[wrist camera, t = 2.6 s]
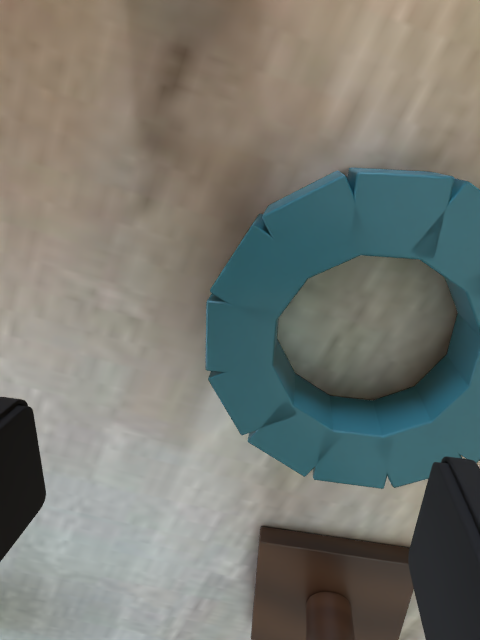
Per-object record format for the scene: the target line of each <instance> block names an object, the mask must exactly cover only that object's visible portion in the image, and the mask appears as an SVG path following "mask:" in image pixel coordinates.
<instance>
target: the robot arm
mask: <svg viewBox="0 0 480 640" xmlns="http://www.w3.org/2000/svg"><path fill="white" fill-rule="evenodd" d="M45 496H46V490H45V483H44V477H43V471H42V465H41V458H40V452H39V446H38V439H37V433H36V427H35V420H34V414H33V410H32V408H31V407H28V405H27V403H26V401H24V400H21V399H14V398H6V397H0V561H1V560H2V559H3V558H4V556H5V555H6V554H7V552H8V551H9V550H10V548H11V547H12V546H13V544H14V543H15V542H16V540H17V539H18V538H19V536H20V535H21V534H22V533H23V531H24V530H25V529H26V527H27V526H28V525H29V523H30V522H31V521H32V519H33V518H34V517H35V515H36V514H37V513H38V511H39V510H40V509H41V507H42V506H43V503H44V501H45ZM408 563H409V570H410V575H411V579H412V583H413V587H414V591H415V596H416V600H417V604H418V608H419V612H420V617H421V621H422V625H423V629H424V633H425V638H426V640H480V468H479V467H478V465H477V463H476V462H475V461H474V460H470V459H462V458H455V457H447V456H446V457H443V459H442V461H441V463H440V462H434V463H433V465H432V468H431V471H430V475H429V479H428V483H427V486H426V490H425V494H424V497H423V501H422V505H421V509H420V512H419V516H418V520H417V523H416V527H415V531H414V535H413V538H412V542H411V546H410V549H409V556H408Z"/></svg>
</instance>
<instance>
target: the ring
mask: <svg viewBox="0 0 480 640" xmlns="http://www.w3.org/2000/svg"><path fill="white" fill-rule="evenodd" d="M360 255H365V256H378V257H392V258H405V259H419V260H421V261H422V262H424V263H425V264H427V265H428V266H429V267H431V268H432V269H434V270H435V271H437V272H438V273H439V274H441V275H442V276H444V277H445V279H446V282H447V285H448V288H449V290H450V293H451V296H452V298H453V301H454V304H455V307H456V309H457V312H458V313H457V317H456V321H455V325H454V329H453V332H452V336H451V340H450V344H449V348H448V351H447V355H446V356H445V357H443V358H442V359H441V360H440V361H439V362H438V363H437V364H436V365H435V366H434V367H433V368H432V369H431V370H430V371H429V372H428V373H427V374H426V375H425V376H424V377H423V378H422V379H421V380H420V381H419V382H418V383H417V384H416V385H415V386H414V387H411V388H408V389H405V390H402V391H400V392H397V393H394V394H391V395H388V396H385V397H382V398H379V399H376V400H364V399H355V398H346V397H337V396H330V395H328V394H326V393H325V392H323V391H322V390H320V389H319V388H317V387H316V386H314V385H312V384H311V383H309V382H308V381H306V380H305V379H303V378H302V377H300V376H298V375H297V374H295V372H294V370H293V368H292V367H291V365H290V363H289V361H288V359H287V357H286V355H285V353H284V351H283V349H282V347H281V345H280V343H279V342H278V340H277V330H278V319H279V317H280V315H281V314H282V313H283V311H284V310H285V309H286V307H287V306H288V305H289V303H290V302H291V301H292V299H293V298H294V297H295V295H296V294H297V293H298V291H299V290H300V289H301V287H302V286H303V285H304V283H305V282H306V281H307V279H308V278H310V277H313V276H315V275H317V274H319V273H322V272H324V271H326V270H328V269H331V268H333V267H335V266H338V265H340V264H342V263H344V262H347V261H349V260H351V259H353V258H356V257H358V256H360ZM210 292H211V293H212V294H211V295H210V297H209V299H208V300H207V302H206V370H207V371H211V373H210V375H209V378H208V380H209V382H210V384H211V385H212V387H213V389H214V390H215V392H216V394H217V395H218V397H219V399H220V400H221V402H222V404H223V405H224V407H225V409H226V410H227V412H228V414H229V415H230V417H231V419H232V420H233V422H234V424H235V426H236V427H237V429H238V431H239V432H240V434H241V435H244V434H247V433H249V437H248V442H249V443H250V444H252V445H254V446H255V447H257V448H259V449H260V450H262V451H263V452H265V453H267V454H268V455H270V456H272V457H273V458H275V459H276V460H278V461H280V462H281V463H283V464H285V465H286V466H288V467H290V468H291V469H293V470H294V471H296V472H298V473H299V474H301V475H303V476H304V477H305V476H306V475H307V474H308V473H309V472H310V471H311V470H312V469H313V478H314V480H320V481H328V482H336V483H343V484H351V485H358V486H366V487H374V488H381V489H383V488H384V486H385V482H386V478H387V476H388V478H389V480H390V482H391V484H392V486H393V487H394V488H396V487H399V486H403V485H407V484H410V483H414V482H418V481H421V480H425V479H429V475H430V471H431V468H432V465H433V463H434V462H440V463H441V461H442V459H443V457H446V456H447V457H455V458H462V457H461V455H462V456H463V457H465V458H466V459H470V460H474V461H475V462H476V463H477V462H478V461H480V190H479V189H478V188H477V187H475V186H474V185H473V184H471V183H470V182H468V181H464V180H459V179H455V178H454V177H453V176H449V175H444V174H439V173H434V172H428V171H409V170H390V169H371V168H349V170H348V177H346V176H345V175H344V174H343V173H341V172H340V171H335V172H333V173H331V174H329V175H327V176H325V177H323V178H321V179H319V180H317V181H315V182H313V183H311V184H309V185H307V186H306V187H304V188H302V189H300V190H298V191H296V192H294V193H292V194H290V195H288V196H286V197H284V198H282V199H280V200H278V201H276V202H274V203H272V204H270V205H269V206H268V207H267V209H266V211H265V212H264V214H259V215H258V216H257V218H256V219H255V221H254V222H253V224H252V225H251V227H250V229H249V230H248V232H247V233H246V235H245V236H244V238H243V239H242V241H241V242H240V244H239V245H238V247H237V249H236V250H235V252H234V253H233V255H232V256H231V258H230V259H229V261H228V262H227V264H226V266H225V267H224V269H223V270H222V272H221V273H220V275H219V276H218V278H217V280H216V281H215V283H214V284H213V286H212V287H211V289H210Z"/></svg>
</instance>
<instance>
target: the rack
mask: <svg viewBox="0 0 480 640" xmlns="http://www.w3.org/2000/svg"><path fill="white" fill-rule="evenodd" d="M409 549H410V548H407V547H400V546H393V545H386V544H379V543H372V542H365V541H358V540H352V539H345V538H338V537H331V536H324V535H317V534H310V533H303V532H296V531H289V530H283V529H276V528H269V527H261V529H260V538H259V549H258V561H257V572H256V584H255V596H254V608H253V619H252V631H251V639H252V640H398V639H399V636H400V633H401V629H402V626H403V623H404V619H405V616H406V613H407V609H408V606H409V603H410V599H411V596H412V593H413V589H414V587H413V583H412V579H411V575H410V570H409V563H408V556H409Z"/></svg>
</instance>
